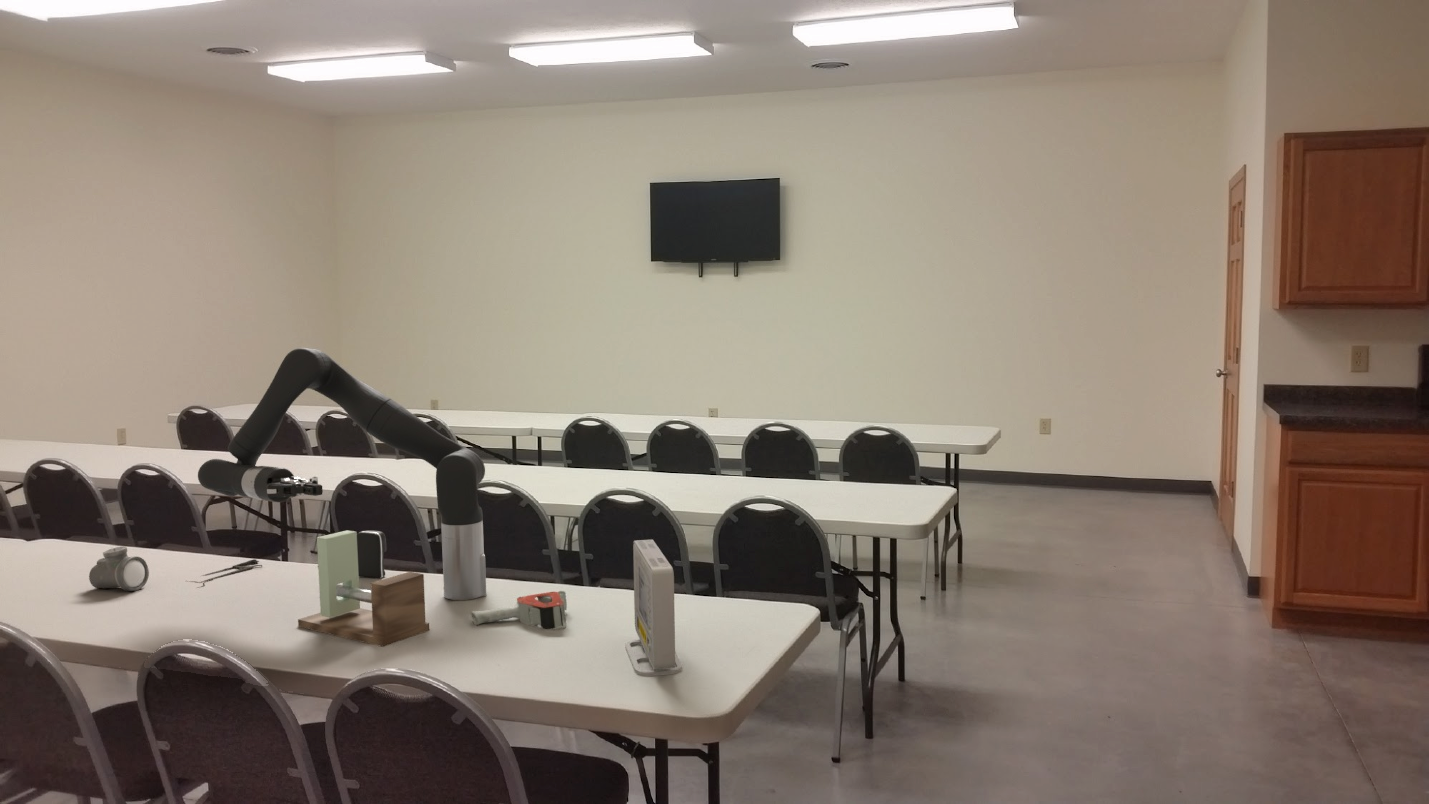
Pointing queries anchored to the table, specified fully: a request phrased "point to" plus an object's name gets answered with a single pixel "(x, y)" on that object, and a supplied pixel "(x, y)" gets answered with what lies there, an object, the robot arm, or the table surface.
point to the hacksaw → (238, 566)
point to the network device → (653, 611)
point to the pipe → (353, 593)
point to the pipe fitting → (119, 571)
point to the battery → (371, 554)
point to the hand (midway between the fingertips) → (319, 490)
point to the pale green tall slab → (337, 571)
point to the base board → (380, 613)
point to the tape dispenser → (530, 611)
